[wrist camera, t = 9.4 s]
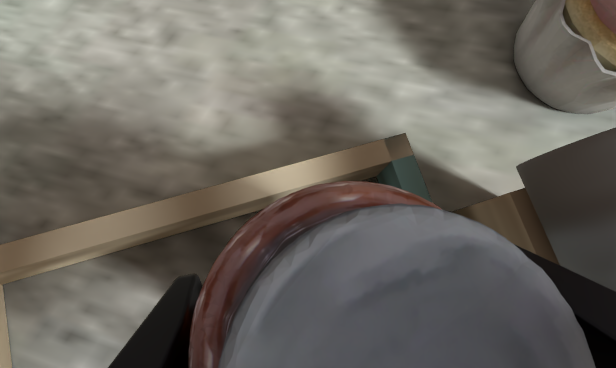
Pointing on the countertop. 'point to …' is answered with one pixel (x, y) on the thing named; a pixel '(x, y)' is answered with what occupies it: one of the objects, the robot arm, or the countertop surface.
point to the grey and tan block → (563, 208)
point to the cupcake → (569, 54)
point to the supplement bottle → (378, 290)
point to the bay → (201, 212)
